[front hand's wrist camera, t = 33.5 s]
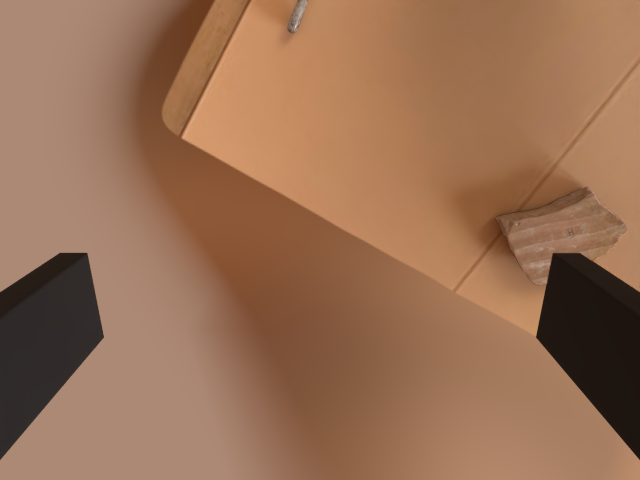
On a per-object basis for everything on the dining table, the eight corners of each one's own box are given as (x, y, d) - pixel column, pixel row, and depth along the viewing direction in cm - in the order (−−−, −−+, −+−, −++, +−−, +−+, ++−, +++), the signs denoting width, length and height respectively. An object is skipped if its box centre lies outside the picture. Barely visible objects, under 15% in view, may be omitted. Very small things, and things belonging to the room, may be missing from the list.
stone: (529, 291, 57) (538, 300, 55) (491, 218, 54) (500, 224, 52) (623, 243, 55) (637, 250, 53) (591, 163, 52) (604, 167, 49)
